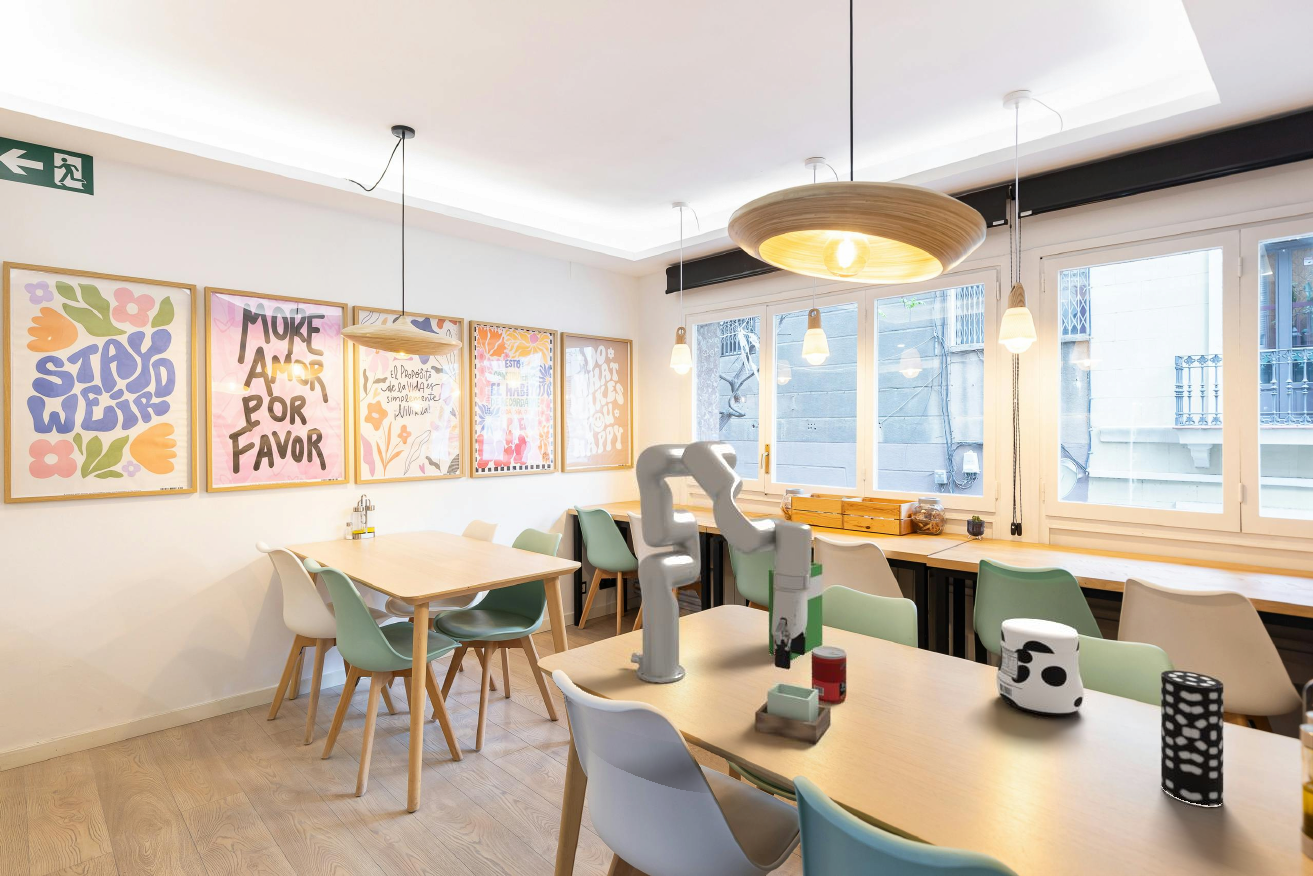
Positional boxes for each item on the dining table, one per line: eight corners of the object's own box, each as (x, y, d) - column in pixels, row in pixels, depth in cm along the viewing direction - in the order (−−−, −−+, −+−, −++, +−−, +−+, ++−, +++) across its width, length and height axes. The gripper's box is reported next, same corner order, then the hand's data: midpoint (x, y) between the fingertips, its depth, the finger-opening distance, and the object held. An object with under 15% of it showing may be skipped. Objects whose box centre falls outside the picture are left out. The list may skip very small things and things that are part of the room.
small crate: (767, 725, 140) (767, 692, 140) (778, 713, 146) (778, 682, 146) (809, 734, 136) (808, 700, 136) (818, 722, 141) (818, 690, 141)
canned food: (847, 705, 153) (847, 657, 153) (812, 702, 154) (812, 655, 154) (845, 692, 160) (845, 647, 160) (811, 690, 162) (811, 645, 162)
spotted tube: (1149, 783, 118) (1149, 671, 118) (1192, 781, 119) (1192, 669, 119) (1190, 809, 110) (1190, 689, 110) (1236, 807, 110) (1236, 687, 110)
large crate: (755, 730, 140) (755, 712, 140) (772, 712, 149) (772, 695, 149) (815, 744, 133) (815, 726, 133) (830, 725, 142) (830, 707, 142)
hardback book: (792, 660, 183) (791, 573, 183) (769, 654, 188) (768, 570, 188) (822, 645, 196) (822, 564, 196) (800, 639, 201) (799, 561, 201)
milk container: (1091, 705, 152) (1091, 626, 152) (1074, 729, 140) (1074, 644, 139) (1008, 685, 164) (1008, 613, 164) (986, 707, 151) (986, 628, 151)
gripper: (788, 570, 150) (787, 645, 151) (760, 587, 135) (758, 670, 136) (821, 575, 146) (819, 652, 147) (796, 592, 131) (794, 677, 132)
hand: (790, 660), depth 141 cm, fingers open, 9 cm apart
